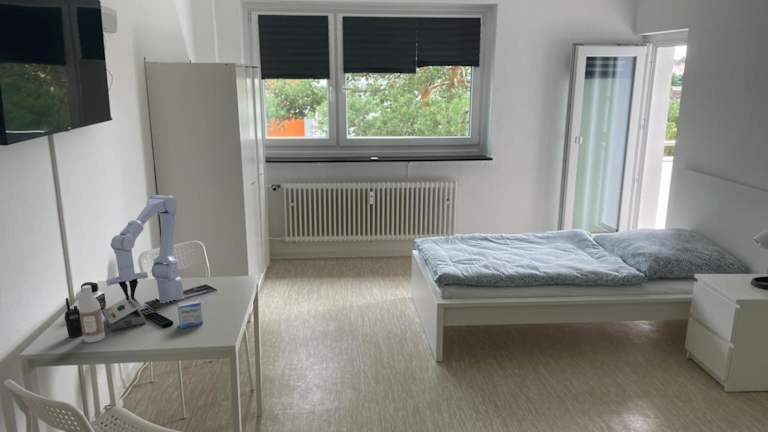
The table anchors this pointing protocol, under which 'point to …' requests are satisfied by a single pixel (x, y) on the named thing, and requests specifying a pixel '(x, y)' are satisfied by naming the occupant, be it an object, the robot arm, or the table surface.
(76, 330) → the two-way radio
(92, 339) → the bath foam
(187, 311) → the medicine box
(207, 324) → the table surface
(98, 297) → the medicine bottle
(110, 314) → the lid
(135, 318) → the flat grey box
